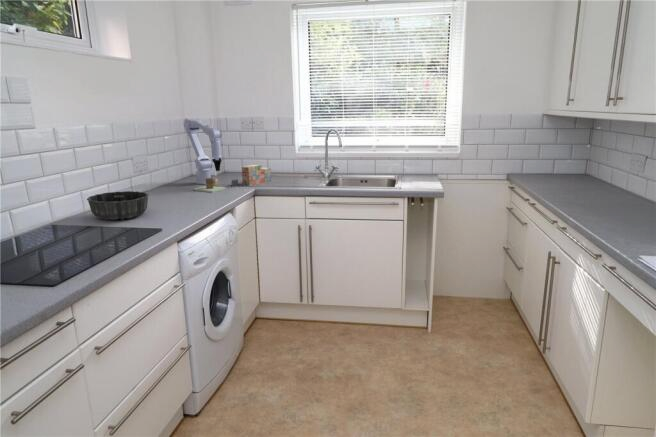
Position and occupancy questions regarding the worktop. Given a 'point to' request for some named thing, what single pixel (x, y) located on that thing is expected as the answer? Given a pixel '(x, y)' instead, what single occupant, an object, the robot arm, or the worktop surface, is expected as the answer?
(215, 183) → the oak cylinder
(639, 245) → the worktop surface
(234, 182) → the charcoal cube
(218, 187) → the sage board
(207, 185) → the walnut block
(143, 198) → the bundt pan
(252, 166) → the stack of blocks
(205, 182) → the robot arm
